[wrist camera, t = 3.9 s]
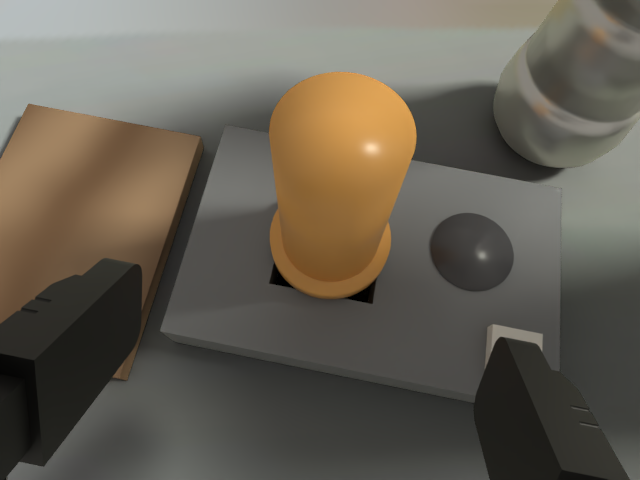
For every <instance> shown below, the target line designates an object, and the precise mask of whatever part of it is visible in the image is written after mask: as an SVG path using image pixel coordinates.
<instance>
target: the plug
mask: <svg viewBox="0 0 640 480" xmlns="http://www.w3.org/2000/svg"><path fill="white" fill-rule="evenodd" d="M416 137H417V134H416V126H415V122H414V119H413V116H412V114H411V112H410V110H409V108H408V107H407V105H406V103H405V102H404V101H403V100H402V98H401V97H400V96H399V95H398V94H397V93H396V92H395V91H393V90H392V89H391V88H389V87H388V86H387V85H385V84H383V83H382V82H380V81H378V80H375V79H373V78H371V77H368V76H365V75H361V74H356V73H349V72H331V73H324V74H320V75H316V76H313V77H310V78H308V79H306V80H303V81H301V82H300V83H298V84H297V85H295V86H294V87H292V88H291V89H290V90H289V91H287V93H286V94H285V95H284V96H283V97H282V98H281V99H280V101H279V102H278V103H277V105H276V107H275V109H274V111H273V114H272V116H271V120H270V125H269V139H270V147H271V155H272V163H273V171H274V179H275V187H276V195H277V203H278V209H277V211H276V213H275V215H274V217H273V220H272V223H271V228H270V246H271V252H272V256H273V260H274V262H275V265H276V267H277V269H278V271H279V272H280V274H281V275H282V276H283V278H284V279H285V280H286V281H287V282H288V283H289V284H290V285H291V286H293V287H294V288H295V289H297V290H299V291H300V292H302V293H304V294H307V295H309V296H312V297H316V298H321V299H340V298H345V297H349V296H352V295H354V294H357V293H359V292H360V291H362V290H364V289H365V288H367V287H368V286H369V285H370V284H371V283H372V282H373V281H374V280H375V279H376V278H377V277H378V275H379V274H380V272H381V271H382V269H383V267H384V265H385V263H386V260H387V258H388V255H389V251H390V247H391V231H390V226H389V223H388V220H389V217H390V215H391V212H392V210H393V207H394V204H395V202H396V199H397V196H398V194H399V191H400V188H401V186H402V183H403V180H404V178H405V175H406V173H407V170H408V167H409V165H410V162H411V159H412V157H413V154H414V151H415V147H416Z"/></svg>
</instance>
